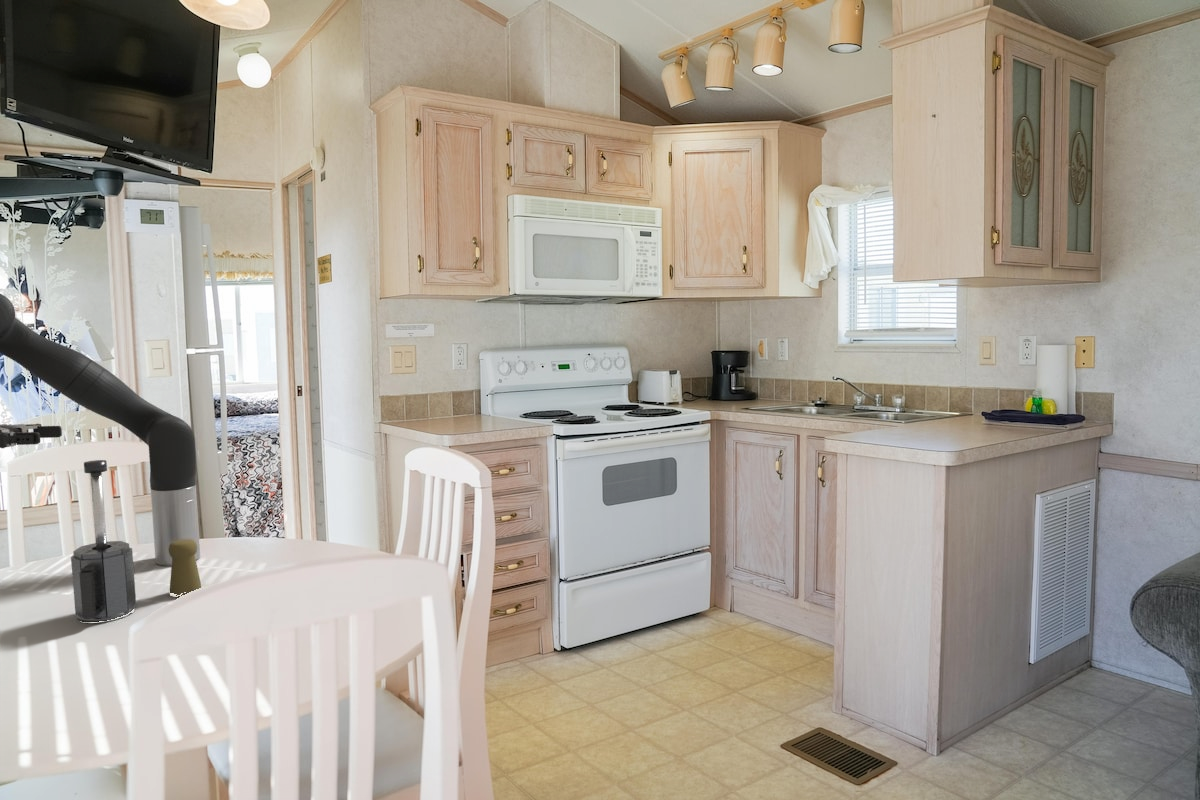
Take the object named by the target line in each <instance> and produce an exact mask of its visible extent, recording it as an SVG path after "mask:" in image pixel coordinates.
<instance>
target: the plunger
mask: <svg viewBox="0 0 1200 800" xmlns="http://www.w3.org/2000/svg"><path fill="white" fill-rule="evenodd" d="M83 471H84V474H90V475H89V476H90V487H91V498H92V499H91V500H92V501H91V502H92V510H93V511H92V512H93V525H94V539H95V540H94V541H95V543H96V550H103V549H107V542H108V541H107V539H108V538H107V527H106V514H105V513H106V512H105V501H104V500H105V499H104V489H103V487H104V486H103V472H104V473H105V472H107V471H108V465H107V460H106V459H95V460H89V461H84V462H83Z"/></svg>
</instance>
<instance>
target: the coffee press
mask: <svg viewBox="0 0 1200 800" xmlns="http://www.w3.org/2000/svg"><path fill="white" fill-rule="evenodd" d="M70 560H71V561H70V562H71V573H72V574H71V575H72V586H73V599H74V611H75V612H74V613H75V615H76V618H77V621H78V620H79V621H82V622H99V621H107V620H111V619H115V618H117V617H121V616H123V615H126V614H128V613H129V612H131V611H132V610H133V609H134V608H135V609H136V605H137V596H136V585H135V584H136V583H135V570H134V555H133V548H132V547H130V543H127V542H125V541H122V540H114V541H113V540H111V541H107V549H103V550H96V542H94V543H90V544H89V543H88V544H87V545H81V546H79V547H78V548H76V549H75V550H73V555H72V556H71V557H70ZM79 621H78V622H79Z"/></svg>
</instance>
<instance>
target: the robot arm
mask: <svg viewBox="0 0 1200 800" xmlns="http://www.w3.org/2000/svg"><path fill="white" fill-rule="evenodd" d="M15 309H16V308H15V306H14V305H13V302H12V301H11V300H10V299H9V298H8V297H7V296H6V295H3V293H0V354H1V355H3V356H5V357H7V358H8V359H10V360H11V361H14V362H15V363H17V364H18V365H20V366H22V367H23V368H24V369H25V370H27V371H28V372H30V373H31V374H32V375H34V376H35V377H36V378H38V379H39V380H41V381H42V382H44V383H45V384H47V385H48V386H50V387H51V388H52V389H54V390H55V391H57V392H58V393H60V394H62V395H63V396H65V397H66V398H67V399H70V400H71V401H73V402H74V403H75V404H77V405H79V406H81V407H82V408H85V409H86V410H88V411H91V412H92V413H95V414H97V415H99V416H101V417H104V418H106V419H109V420H111V421H113V422H115V423H117V424H118V425H121V427H122V426H123V428H125V429H126V430H128V431H130V432H131V433H132V434H133V435H134V436H135V437H138V439H140V440H141V441H142V442H144V444H146V445H147V446H148V454H149V456H148V457H149V470H150V471H149V484H150V498H151V499H150V501H151V512H152V513H151V514H152V516H151V517H152V528H153V531H152V532H153V541H154V542H153V543H154V560H155V564H157V565H159V566H172V557H171V556H170V554H169V546H170V544H171V543H172V542H174V541H176V540H180V539H192V540H194V541H195V542H196V544H197V552H196V553H195V559H196V561H197V560H199V559H200V558H201V546H200V545H201V543H200V532H199V531H200V530H199V513H198V501H197V485H196V482H197V481H196V477H197V460H196V457H197V456H196V440H195V439H196V438H195V434H194V431H193V429H192V427H191V426H190V425H189V424H188V423H187V422H186V421H185V420H183V419H182V418H180V417H178V416H176V415H173V414H171V413H170V412H167V411H165V410H163V409H161V408H160V407H157V406H156V405H154V404H152V403H151V402H149V401H147V400H145V399H144V398H143V397H141V396H140V395H139V394H137V393H136V392H135V391H134V390H133V389H132V388H131V387H130V386H128V385H127V384H126V383H124V382H123V381H122V380H121V379H120V378H118V377H117V376H116V375H114V374H113V373H112V372H110V370H108V369H107V368H105V367H103V366H102V365H101V364H99V363H98V362H96V361H95V360H93V359H92V358H90V357H88V356H86V355H85V354H83V353H81V352H79V351H77V350H75V349H73V348H70V347H69V346H65V345H63V344H60V343H59V342H55V341H53V340H51V339H48V338H46V337H44V336H43V335H41V334H39V333H38V332H36V331H35V330H33V329H32V328H30V327H28V325H26V324H24V323H23V322H22V321H21V320H20V319H18V318H17V317H16V310H15ZM29 430H32V431H30V432H29ZM62 430H63V429H62V426H61V425H42V424H41V423H35V424H33V423H28V424H23V423H20V424H19V423H17V424H11V423H9V424H6V423H5V424H4V423H2V424H1V423H0V449H5V448H10V447H11V448H12V447H17V446H23V445H39V444H40V443H41V439H42V438H43V439H46V438H47V439H48V438H49V439H51V438H60V437H62V435H63V431H62Z"/></svg>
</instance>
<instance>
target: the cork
mask: <svg viewBox="0 0 1200 800" xmlns="http://www.w3.org/2000/svg"><path fill="white" fill-rule="evenodd" d="M196 552H197V544H196V542H195V541H194V540H192V539H180V540H176V541H174V542H172V543H171V544H170V546H169V554H170V556H171V557H172V565H171V567H170V568H171V569H170V580H169V581H170V582H169V583H170V584H169V591H170V593H174V594H177V595H180V594H181V593H183V594H182V595H185V594H187V593H189V592H191V591H194V590H196V589H199V588H201V587H202V582H201V579H200V574H199V569H198V564H197V560H196V559H195V553H196ZM184 592H186V593H184ZM177 595H176V596H177ZM182 595H181V596H182ZM178 597H180V596H178ZM178 597H177V598H176V599H179V598H178Z"/></svg>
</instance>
